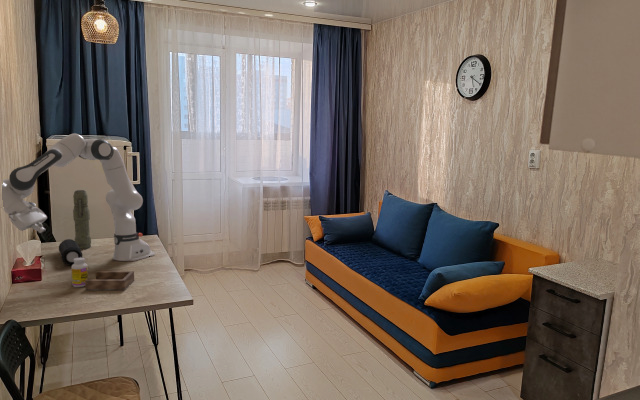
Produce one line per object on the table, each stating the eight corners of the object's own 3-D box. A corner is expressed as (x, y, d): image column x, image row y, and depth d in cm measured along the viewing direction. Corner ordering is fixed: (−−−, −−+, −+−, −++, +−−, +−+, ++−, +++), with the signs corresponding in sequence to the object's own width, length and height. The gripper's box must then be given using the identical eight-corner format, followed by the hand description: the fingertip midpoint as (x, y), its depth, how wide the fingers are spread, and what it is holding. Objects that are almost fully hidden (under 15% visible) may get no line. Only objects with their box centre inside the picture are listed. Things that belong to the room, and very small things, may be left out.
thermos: (90, 244, 298) (87, 189, 292) (91, 249, 287) (88, 191, 282) (74, 246, 294) (71, 189, 288) (75, 250, 283) (71, 192, 278)
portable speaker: (58, 256, 271) (57, 239, 270) (78, 254, 276) (77, 237, 275) (62, 268, 250) (61, 249, 248) (83, 265, 255) (82, 247, 254)
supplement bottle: (81, 288, 220) (80, 261, 218) (69, 287, 221) (67, 260, 219) (91, 283, 226) (90, 257, 224) (79, 282, 228) (77, 256, 226)
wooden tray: (85, 290, 217) (85, 280, 217) (97, 280, 231) (96, 271, 230) (125, 290, 219) (124, 280, 218) (134, 280, 233) (134, 271, 232)
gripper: (11, 209, 206) (36, 231, 208) (35, 201, 226) (58, 222, 228) (1, 219, 206) (26, 241, 208) (26, 211, 226) (49, 231, 229)
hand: (43, 231), depth 219 cm, fingers closed
